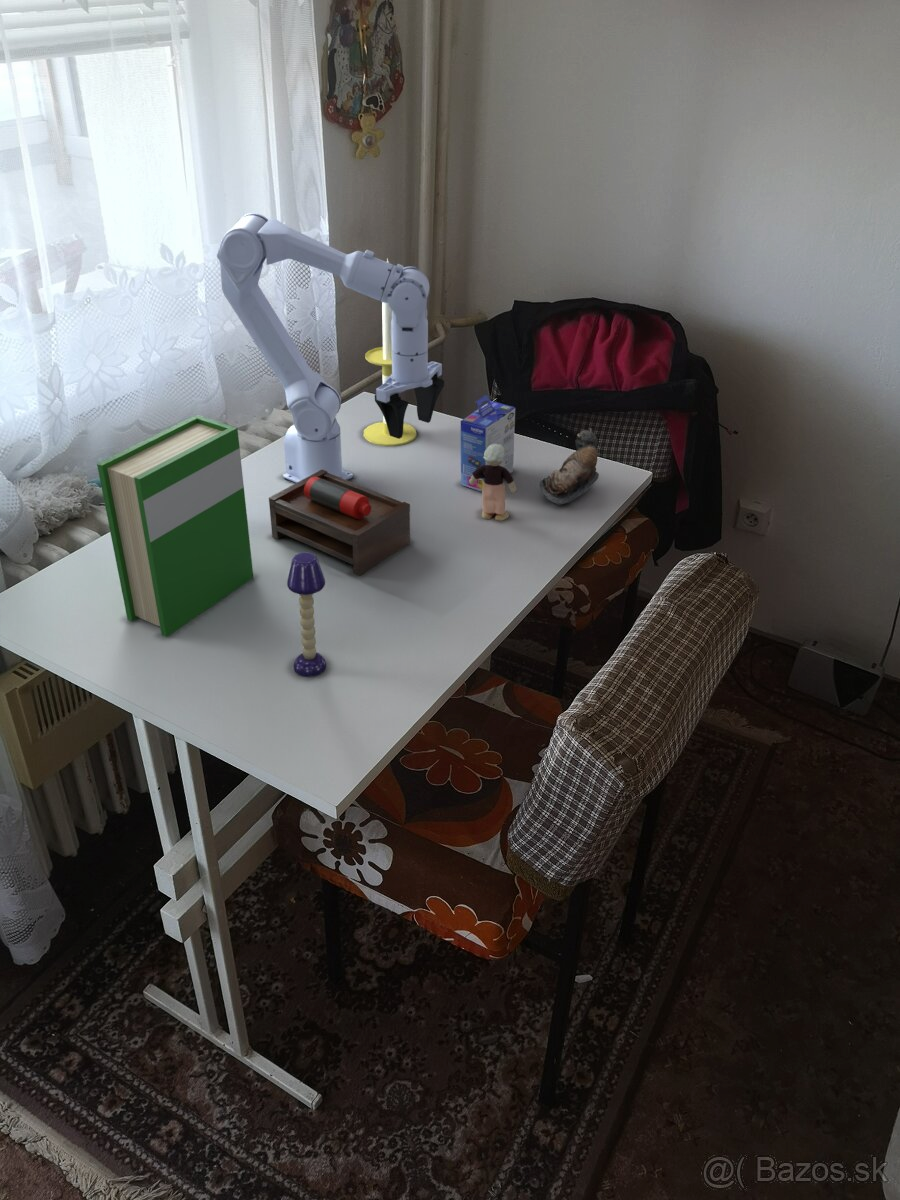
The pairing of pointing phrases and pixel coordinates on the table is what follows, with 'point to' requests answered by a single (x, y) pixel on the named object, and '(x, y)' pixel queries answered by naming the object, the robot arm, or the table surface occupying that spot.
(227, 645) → the table surface
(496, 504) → the grandmother figurine
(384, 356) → the candle
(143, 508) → the hardback book
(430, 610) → the table surface
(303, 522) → the shelf
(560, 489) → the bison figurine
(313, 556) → the toy lamp
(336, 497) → the thermos
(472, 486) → the ink cartridge box
